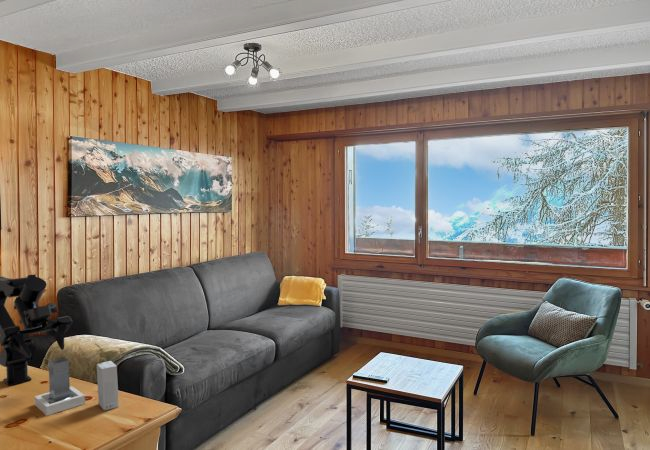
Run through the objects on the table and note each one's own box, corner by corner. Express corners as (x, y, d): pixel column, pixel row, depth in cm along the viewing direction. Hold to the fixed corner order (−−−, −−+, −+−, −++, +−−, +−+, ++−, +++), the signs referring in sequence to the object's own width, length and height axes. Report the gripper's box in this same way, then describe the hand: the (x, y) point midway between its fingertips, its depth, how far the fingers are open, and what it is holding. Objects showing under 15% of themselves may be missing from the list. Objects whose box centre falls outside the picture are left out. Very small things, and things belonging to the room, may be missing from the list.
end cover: (44, 404, 133) (43, 360, 132) (67, 398, 138) (66, 355, 137) (52, 411, 129) (50, 365, 128) (75, 404, 134) (73, 360, 133)
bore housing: (34, 404, 133) (34, 396, 133) (71, 393, 140) (71, 385, 140) (46, 415, 126) (46, 406, 126) (85, 403, 134) (84, 395, 134)
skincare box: (119, 407, 132) (118, 365, 131) (102, 411, 129) (101, 369, 128) (113, 399, 137) (112, 359, 136) (96, 404, 134) (96, 363, 133)
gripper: (1, 300, 131) (19, 346, 126) (68, 290, 147) (87, 330, 141) (-9, 323, 136) (8, 368, 131) (58, 311, 152) (75, 350, 146)
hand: (46, 353), depth 137 cm, fingers open, 9 cm apart
